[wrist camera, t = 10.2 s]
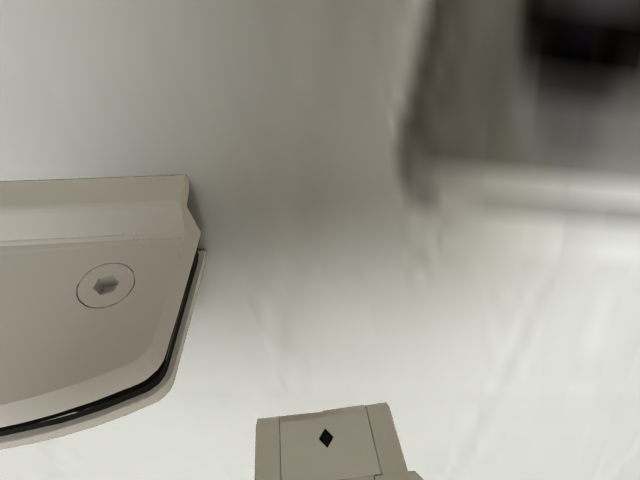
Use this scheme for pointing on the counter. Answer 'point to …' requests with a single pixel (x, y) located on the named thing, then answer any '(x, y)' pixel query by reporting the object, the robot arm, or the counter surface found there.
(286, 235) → the counter surface
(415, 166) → the counter surface
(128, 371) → the white curved block
